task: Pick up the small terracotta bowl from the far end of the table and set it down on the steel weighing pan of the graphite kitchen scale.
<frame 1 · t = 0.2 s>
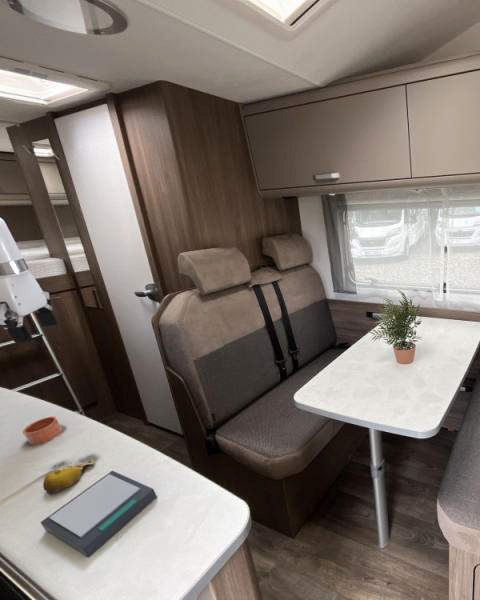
hand: (38, 332, 81), 28 cm above the kitchen counter, tool pointing down, fingers open, 9 cm apart
scale: (104, 513, 63), on the kitchen counter
fruit: (72, 476, 72), on the kitchen counter
bowl: (48, 439, 83), on the kitchen counter
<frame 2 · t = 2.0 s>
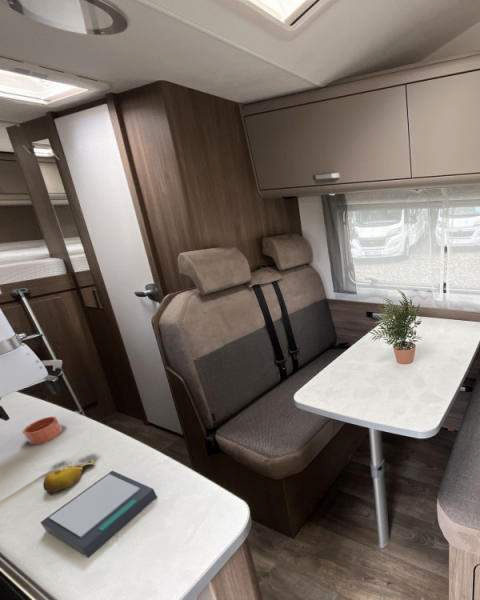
hand: (32, 405, 80), 11 cm above the kitchen counter, tool pointing down, fingers open, 9 cm apart
nothing on the kitchen counter moved.
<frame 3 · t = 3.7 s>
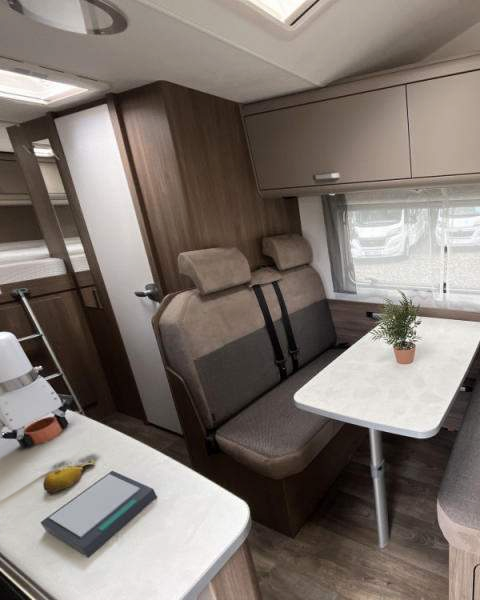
hand: (47, 437, 83), 1 cm above the kitchen counter, tool pointing down, fingers closed on bowl, 6 cm apart
bowl: (48, 439, 83), on the kitchen counter, touching gripper
everything else where it was.
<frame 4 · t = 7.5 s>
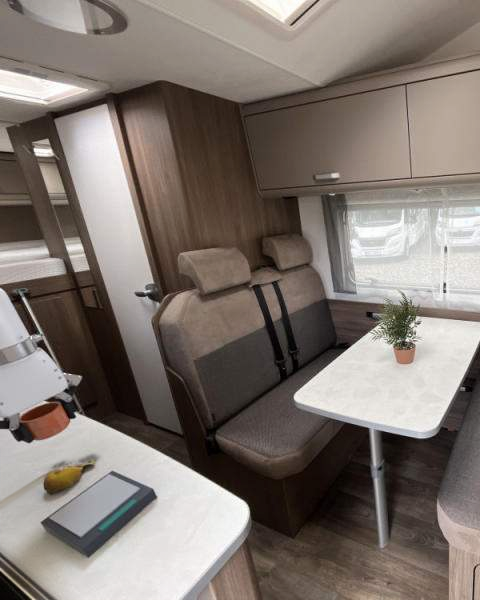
hand: (49, 427, 64), 16 cm above the kitchen counter, tool pointing down, fingers closed on bowl, 6 cm apart
bowl: (51, 430, 65), point 15 cm above the kitchen counter, touching gripper
everything else where it was.
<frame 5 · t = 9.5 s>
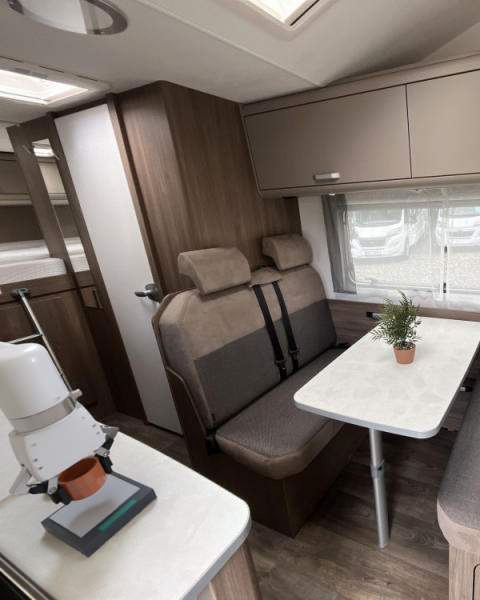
hand: (86, 485, 61), 8 cm above the kitchen counter, tool pointing down, fingers closed on bowl, 6 cm apart
bowl: (88, 488, 61), point 7 cm above the kitchen counter, touching gripper
everything else where it was.
when the fingers open (4 cm above the kitchen counter, at t = 11.1 s): bowl stays where it is, resting on scale.
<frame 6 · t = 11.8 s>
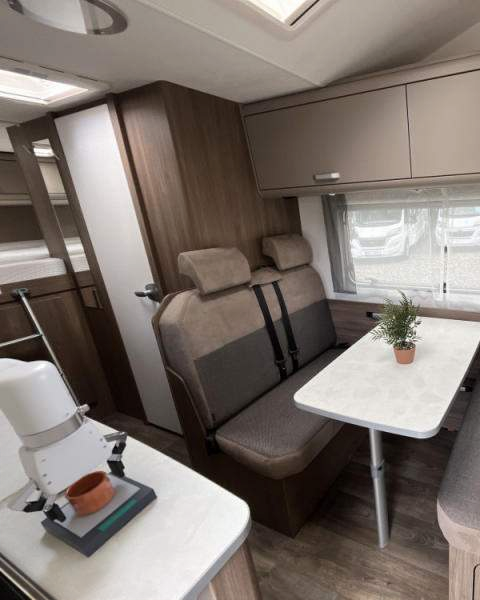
hand: (91, 495, 62), 5 cm above the kitchen counter, tool pointing down, fingers open, 9 cm apart
bowl: (96, 502, 62), point 3 cm above the kitchen counter, touching scale
everything else where it was.
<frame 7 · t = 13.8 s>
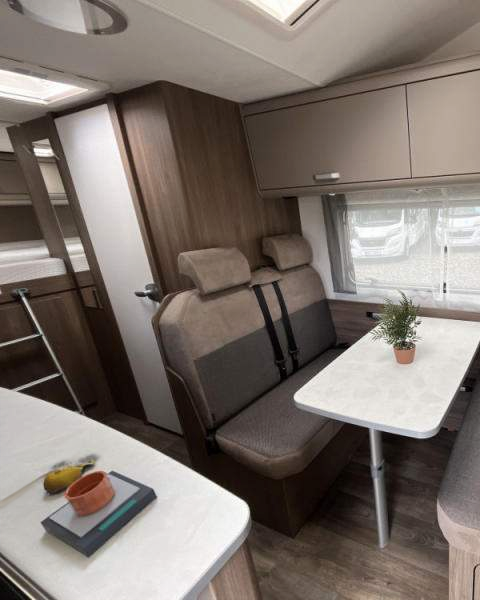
nothing on the kitchen counter moved.
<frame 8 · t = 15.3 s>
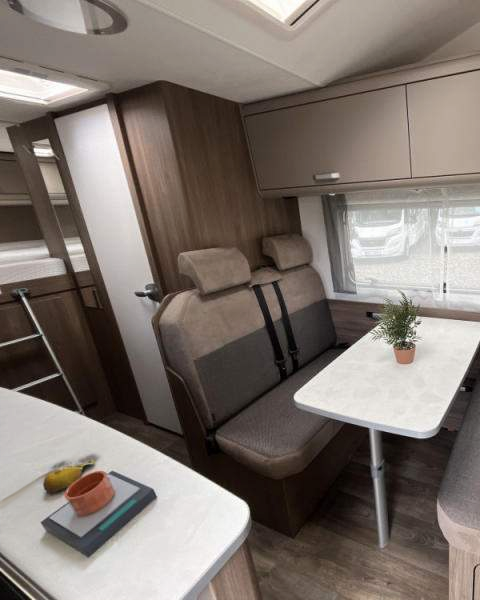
nothing on the kitchen counter moved.
at the end: bowl inside the target area on the scale (0.1 cm from its centre), point 2.9 cm above the scale's base; bowl tilted 0°; the gripper is holding nothing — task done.
